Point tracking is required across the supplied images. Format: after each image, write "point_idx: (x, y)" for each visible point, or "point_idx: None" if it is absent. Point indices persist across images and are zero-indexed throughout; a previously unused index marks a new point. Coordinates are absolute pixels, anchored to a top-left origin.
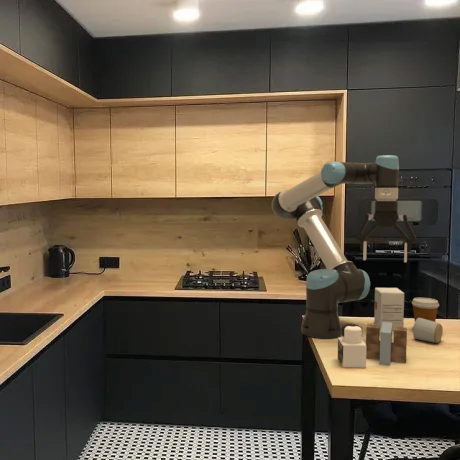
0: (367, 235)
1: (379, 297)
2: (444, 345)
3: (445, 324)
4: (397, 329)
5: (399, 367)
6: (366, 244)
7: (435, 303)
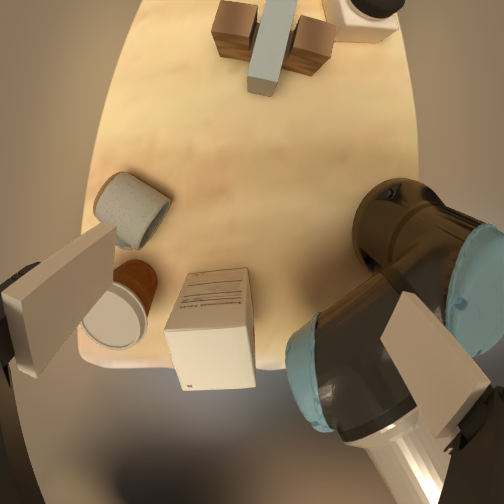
0: (501, 437)
1: (249, 327)
2: (109, 174)
3: None
4: (245, 11)
5: None
6: (430, 408)
7: None
